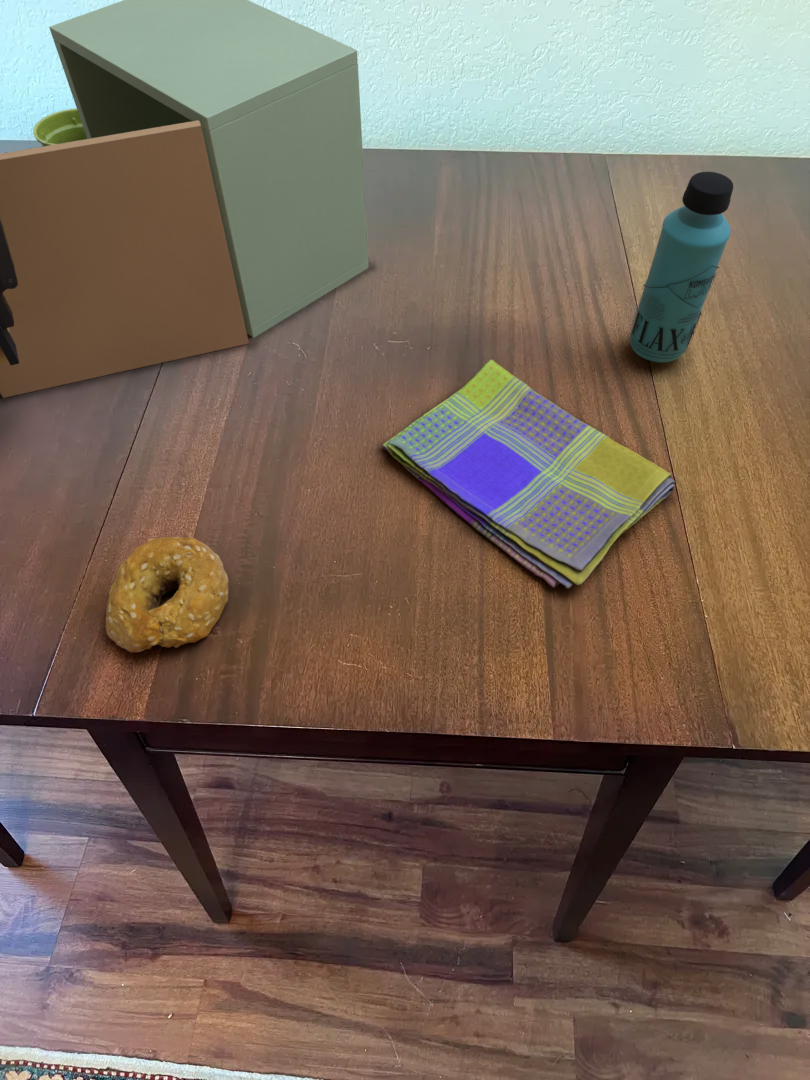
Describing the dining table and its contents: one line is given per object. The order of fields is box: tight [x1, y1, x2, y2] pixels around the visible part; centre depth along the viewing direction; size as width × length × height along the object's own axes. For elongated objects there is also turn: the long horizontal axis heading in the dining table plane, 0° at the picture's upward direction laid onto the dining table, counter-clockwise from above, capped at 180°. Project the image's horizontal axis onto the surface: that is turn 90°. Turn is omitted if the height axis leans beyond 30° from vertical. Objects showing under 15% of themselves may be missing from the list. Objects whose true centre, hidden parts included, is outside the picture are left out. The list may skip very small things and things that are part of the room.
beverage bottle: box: [628, 171, 734, 363], centre depth 78 cm, size 6×7×20 cm
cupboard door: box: [0, 120, 250, 399], centre depth 73 cm, size 8×26×24 cm, turn 108°
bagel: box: [105, 536, 229, 653], centre depth 66 cm, size 10×11×5 cm
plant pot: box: [32, 107, 87, 147], centre depth 102 cm, size 9×9×9 cm
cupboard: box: [48, 0, 370, 339], centre depth 87 cm, size 18×26×24 cm
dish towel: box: [381, 359, 676, 589], centre depth 75 cm, size 18×24×3 cm
